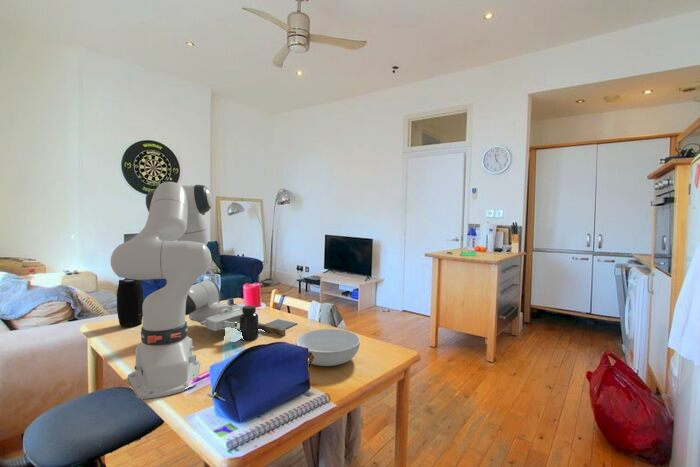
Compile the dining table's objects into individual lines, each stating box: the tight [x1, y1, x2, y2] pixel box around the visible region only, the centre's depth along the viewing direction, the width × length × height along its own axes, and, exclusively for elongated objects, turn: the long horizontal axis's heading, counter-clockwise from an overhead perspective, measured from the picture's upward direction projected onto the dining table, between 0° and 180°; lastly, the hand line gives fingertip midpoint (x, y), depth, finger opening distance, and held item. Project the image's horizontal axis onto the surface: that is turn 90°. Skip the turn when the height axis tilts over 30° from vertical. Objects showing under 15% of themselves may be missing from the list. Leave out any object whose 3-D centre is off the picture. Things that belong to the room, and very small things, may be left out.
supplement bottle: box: [239, 305, 259, 342], centre depth 130 cm, size 7×7×12 cm
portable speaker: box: [116, 278, 145, 329], centre depth 143 cm, size 9×9×20 cm
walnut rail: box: [258, 322, 286, 338], centre depth 137 cm, size 20×2×2 cm, turn 60°
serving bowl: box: [295, 328, 361, 367], centre depth 111 cm, size 21×21×7 cm
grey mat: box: [264, 318, 298, 331], centre depth 145 cm, size 11×11×1 cm
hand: (245, 321), depth 131 cm, fingers open, 8 cm apart
